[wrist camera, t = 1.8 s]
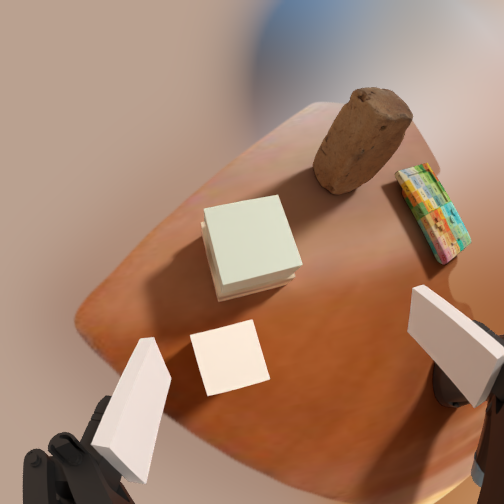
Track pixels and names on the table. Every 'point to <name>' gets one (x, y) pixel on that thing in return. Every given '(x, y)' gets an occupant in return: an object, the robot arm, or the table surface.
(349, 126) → the block
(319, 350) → the table surface
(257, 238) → the tower top
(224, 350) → the cream block
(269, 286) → the tower base
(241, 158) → the table surface
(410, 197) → the puzzle game
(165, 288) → the table surface
